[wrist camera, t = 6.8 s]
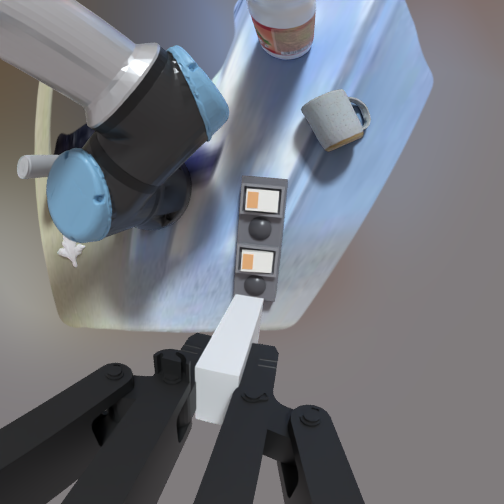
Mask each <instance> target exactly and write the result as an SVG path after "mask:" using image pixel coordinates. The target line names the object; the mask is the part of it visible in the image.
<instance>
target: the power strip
mask: <svg viewBox="0 0 504 504" xmlns="http://www.w3.org/2000/svg"><path fill="white" fill-rule="evenodd" d="M287 187H288V179H278V178H267V177H255V176H242V183H241V196H240V209H239V223H238V237H237V251H236V266H235V281H234V296H235V295H236V294H238V295H244V296H251V297H257V298H263V299H264V300H266V301H273V302H275V297H276V291H277V283H278V274H279V265H280V256H281V247H282V238H283V228H284V218H285V208H286V197H287ZM247 188H248V189H261V190H272V191H279V200H278V211H277V213H275V212H263V211H250V210H245V205H246V192H247ZM242 250H256V251H270V252H273V261H272V271H271V273H263V272H247V271H241V258H242Z"/></svg>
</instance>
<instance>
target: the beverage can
mask: <svg viewBox="0 0 504 504" xmlns="http://www.w3.org/2000/svg"><path fill="white" fill-rule="evenodd" d="M58 156H60V155H25V156H22V157H21V158H20V159H19V161H18V166H17V172H18V175H19V177H20V178H23V179H29V178H40V177H48V175H49V172H50V169H51V167H52V165H53V163H54V161H55V160H56V159H57V157H58Z"/></svg>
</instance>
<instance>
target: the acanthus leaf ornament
mask: <svg viewBox="0 0 504 504" xmlns="http://www.w3.org/2000/svg"><path fill="white" fill-rule="evenodd" d="M63 240H64V241H63V242H62V245H63V247H64V248H60V249H59V250H58V252H57V254H59V255H62V256H63V257H67V258H69V259H70V260H71V261H72V263H73V266H74V267H77V262H76V258H77V256H78V255H79V254H81V253H82V252H81V251H82V250H83V248H85V246H84V245H82V244H78V245H77V246H76V242H73V241H71V240H69V239H68V238H66V237H65V236H64V235H63Z"/></svg>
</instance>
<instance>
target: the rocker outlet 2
mask: <svg viewBox="0 0 504 504" xmlns="http://www.w3.org/2000/svg"><path fill="white" fill-rule="evenodd" d="M272 261H273V252H270V251H256V250H242V258H241V271H247V272H263V273H271V271H272Z"/></svg>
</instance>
